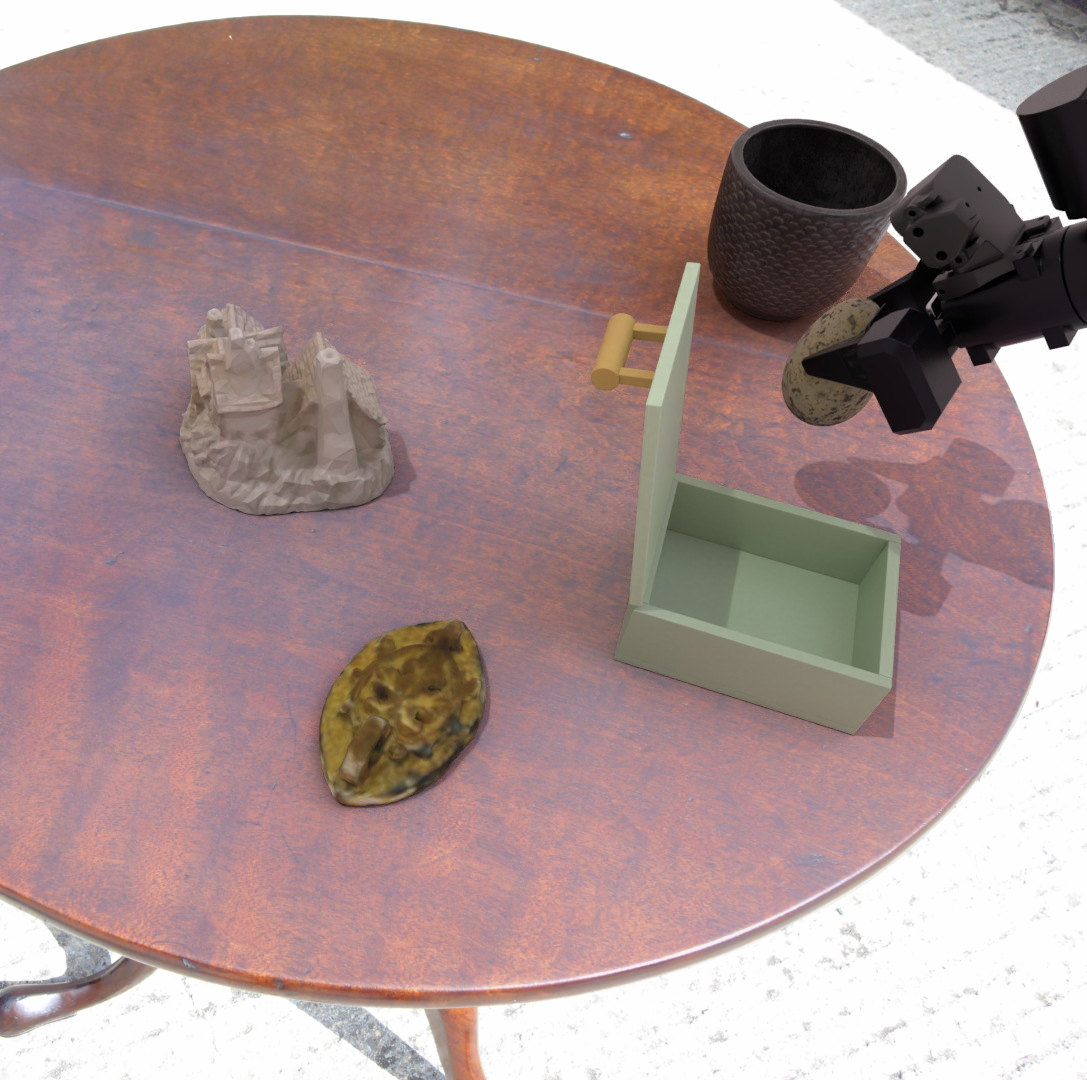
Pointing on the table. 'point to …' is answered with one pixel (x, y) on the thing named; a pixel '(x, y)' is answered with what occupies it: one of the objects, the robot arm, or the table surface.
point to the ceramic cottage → (281, 421)
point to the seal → (401, 712)
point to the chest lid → (652, 411)
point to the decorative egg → (819, 396)
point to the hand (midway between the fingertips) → (822, 344)
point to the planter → (799, 215)
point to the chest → (768, 605)
